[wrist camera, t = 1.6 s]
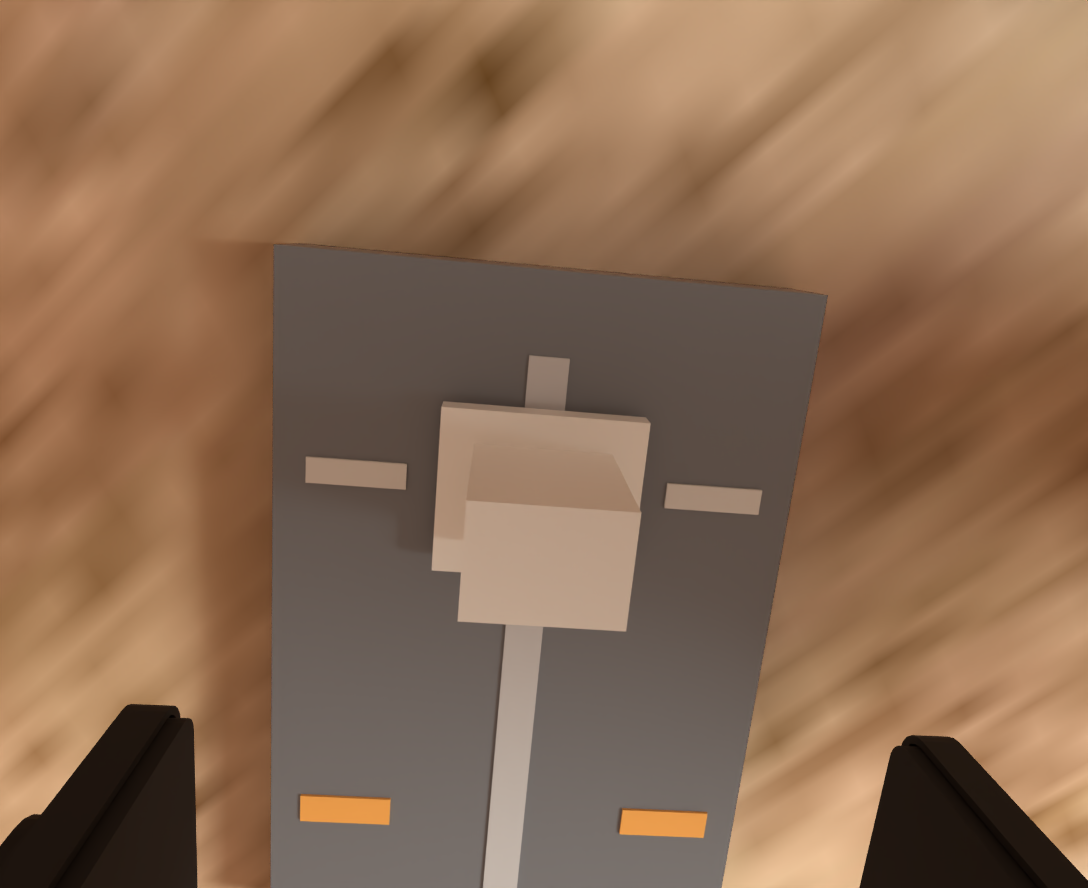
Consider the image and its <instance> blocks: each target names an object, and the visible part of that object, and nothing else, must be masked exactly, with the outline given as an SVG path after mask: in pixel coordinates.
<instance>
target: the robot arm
mask: <svg viewBox="0 0 1088 888" xmlns="http://www.w3.org/2000/svg"><path fill="white" fill-rule="evenodd" d="M0 888H197V848H196V805H195V762H194V727H193V722H192V720H191V719H190V718H180V713H179V710H178V708H177V707H176V706H166V705H141V704H130V705H127V706H126V707H125V708H124V709H123V710H122V711H121V712H120V714H119V715H118V716H117V717H116V719H115V720H114V721H113V723H112V724H111V725H110V726H109V728H108V729H107V730H106V732H105V733H104V734H103V736H102V737H101V738H100V739H99V741H98V742H97V743H96V745H95V746H94V747H93V748H92V750H91V751H90V752H89V754H88V755H87V756H86V757H85V759H84V760H83V761H82V763H81V764H80V765H79V767H78V768H77V769H76V770H75V772H74V773H73V774H72V776H71V777H70V778H69V779H68V781H67V782H66V783H65V785H64V786H63V787H62V788H61V790H60V791H59V792H58V794H57V795H56V796H55V798H54V799H53V800H52V801H51V803H50V804H49V805H48V807H47V808H46V809H45V810H44V812H43V813H42V814H41V815H39V814H33V815H31V816H29V817H27V818H25V819H23V820H22V821H21V822H20V823H19V824H18V825H17V826H16V827H15V828H14V829H13V831H12V832H11V833H10V834H9V836H8V837H7V838H6V839H5V841H4V842H3V843H2V844H1V846H0ZM860 888H1088V880H1087V879H1086V878H1085V877H1084V876H1083V875H1082V874H1081V873H1080V872H1079V871H1078V870H1077V869H1076V867H1075V866H1074V865H1073V864H1072V863H1071V862H1070V861H1069V860H1068V859H1067V858H1066V857H1065V856H1064V855H1063V854H1062V852H1061V851H1060V850H1059V849H1058V848H1057V847H1056V846H1055V845H1054V844H1053V843H1052V842H1051V841H1050V840H1049V838H1048V837H1047V836H1046V835H1045V834H1044V833H1043V832H1042V831H1041V830H1040V829H1039V828H1038V827H1037V826H1036V824H1035V823H1034V822H1033V821H1032V820H1031V819H1030V818H1029V817H1028V816H1027V815H1026V814H1025V813H1024V812H1023V810H1022V809H1021V808H1020V807H1019V806H1018V805H1017V804H1016V803H1015V802H1014V801H1013V800H1012V799H1011V798H1010V796H1009V795H1008V794H1007V793H1006V792H1005V791H1004V790H1003V789H1002V788H1001V787H1000V786H999V785H998V784H997V783H996V781H995V780H994V779H993V778H992V777H991V776H990V775H989V774H988V773H987V772H986V771H985V770H984V769H983V767H982V766H981V765H980V764H979V763H978V762H977V761H976V760H975V759H974V758H973V757H972V756H971V755H970V753H969V752H968V751H967V750H966V749H965V748H964V747H963V746H962V745H961V744H960V743H959V742H958V741H957V740H955V739H954V738H951V737H941V736H916V735H911V736H908V737H906V739H905V740H904V741H903V743H902V745H901V746H897V747H895V748H894V749H893V750H892V752H891V755H890V759H889V763H888V767H887V772H886V776H885V780H884V785H883V789H882V793H881V798H880V802H879V806H878V810H877V815H876V819H875V823H874V828H873V832H872V836H871V841H870V845H869V849H868V853H867V858H866V862H865V866H864V871H863V875H862V879H861V884H860Z"/></svg>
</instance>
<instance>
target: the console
mask: <svg viewBox="0 0 1088 888" xmlns="http://www.w3.org/2000/svg"><path fill="white" fill-rule="evenodd" d="M827 297H828V295H823V294H817V293H812V292H806V291H801V290H795V289H788V288H777V287H766V286H755V285H745V284H734V283H723V282H712V281H701V280H690V279H680V278H669V277H658V276H647V275H636V274H625V273H615V272H604V271H593V270H582V269H571V268H561V267H550V266H539V265H528V264H517V263H506V262H496V261H485V260H474V259H463V258H452V257H441V256H431V255H420V254H409V253H398V252H387V251H376V250H366V249H355V248H344V247H333V246H322V245H311V244H274V291H273V496H272V701H271V888H721V887H722V881H723V876H724V870H725V865H726V859H727V854H728V848H729V842H730V837H731V831H732V826H733V820H734V815H735V809H736V803H737V798H738V792H739V787H740V781H741V776H742V770H743V764H744V759H745V753H746V748H747V742H748V737H749V731H750V726H751V720H752V714H753V709H754V703H755V698H756V692H757V687H758V681H759V675H760V670H761V664H762V659H763V653H764V648H765V642H766V636H767V631H768V625H769V620H770V614H771V609H772V603H773V598H774V592H775V586H776V581H777V575H778V570H779V564H780V559H781V553H782V547H783V542H784V536H785V531H786V525H787V520H788V514H789V508H790V503H791V497H792V492H793V486H794V481H795V475H796V469H797V464H798V458H799V453H800V447H801V442H802V436H803V431H804V425H805V419H806V414H807V408H808V403H809V397H810V392H811V386H812V380H813V375H814V369H815V364H816V358H817V353H818V347H819V341H820V336H821V330H822V325H823V319H824V314H825V308H826V303H827ZM443 401H447V402H460V403H473V404H485V405H498V406H510V407H523V408H535V409H548V410H561V411H573V412H586V413H598V414H611V415H623V416H636V417H646V418H647V419H648V421H649V422H650V423H651V425H650V433H649V440H648V448H647V456H646V464H645V471H644V479H643V487H642V495H641V502H640V511H641V520H640V528H639V536H638V543H637V551H636V559H635V566H634V574H633V582H632V590H631V597H630V605H629V613H628V620H627V628H626V632H625V631H608V630H591V629H575V628H558V627H541V626H525V625H508V624H491V623H474V622H458V608H459V594H460V579H461V572H447V571H432V554H433V538H434V521H435V504H436V488H437V471H438V454H439V438H440V421H441V406H442V404H443Z"/></svg>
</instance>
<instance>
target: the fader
mask: <svg viewBox="0 0 1088 888" xmlns="http://www.w3.org/2000/svg"><path fill="white" fill-rule="evenodd" d="M650 425H651V423H650V422H649V421H648V419H647V418H646V417H636V416H623V415H611V414H598V413H586V412H573V411H561V410H548V409H535V408H523V407H510V406H498V405H485V404H473V403H460V402H447V401H443V404H442V406H441V421H440V438H439V454H438V471H437V488H436V504H435V521H434V538H433V554H432V571H447V572H461V579H460V594H459V608H458V622H474V623H491V624H508V625H525V626H541V627H558V628H575V629H591V630H608V631H625V632H626V628H627V620H628V613H629V605H630V597H631V590H632V582H633V574H634V566H635V559H636V551H637V543H638V536H639V528H640V520H641V511H640V502H641V495H642V487H643V479H644V471H645V464H646V456H647V448H648V440H649V433H650Z"/></svg>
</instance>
